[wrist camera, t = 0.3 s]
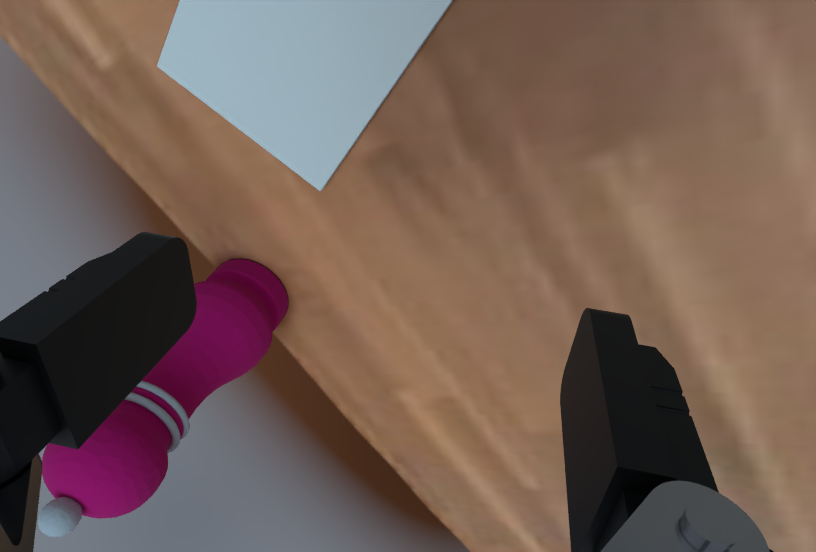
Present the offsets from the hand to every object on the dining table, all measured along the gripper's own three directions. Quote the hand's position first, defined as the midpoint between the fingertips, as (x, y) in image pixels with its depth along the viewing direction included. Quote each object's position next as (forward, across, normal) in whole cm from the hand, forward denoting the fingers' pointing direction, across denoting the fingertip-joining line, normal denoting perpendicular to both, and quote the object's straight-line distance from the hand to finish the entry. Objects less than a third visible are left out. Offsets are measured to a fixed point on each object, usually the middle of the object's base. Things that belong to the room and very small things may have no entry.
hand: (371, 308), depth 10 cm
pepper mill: (+23, +15, +17) cm, 32 cm away
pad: (+21, +9, -4) cm, 23 cm away
